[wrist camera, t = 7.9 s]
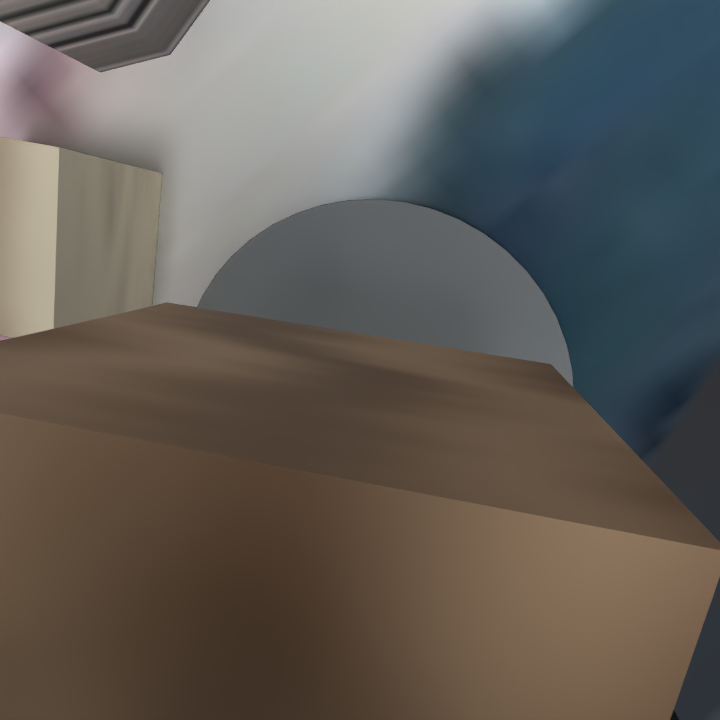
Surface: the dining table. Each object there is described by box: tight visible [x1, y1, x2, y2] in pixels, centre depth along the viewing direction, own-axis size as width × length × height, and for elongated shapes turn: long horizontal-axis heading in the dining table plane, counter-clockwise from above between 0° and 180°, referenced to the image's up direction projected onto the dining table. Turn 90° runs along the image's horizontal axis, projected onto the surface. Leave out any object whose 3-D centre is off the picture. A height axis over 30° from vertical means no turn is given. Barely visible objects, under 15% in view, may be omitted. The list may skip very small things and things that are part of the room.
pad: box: [197, 199, 573, 387], centre depth 24 cm, size 18×18×2 cm
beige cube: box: [0, 137, 162, 338], centre depth 22 cm, size 7×7×7 cm
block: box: [0, 303, 720, 720], centre depth 11 cm, size 10×10×8 cm
